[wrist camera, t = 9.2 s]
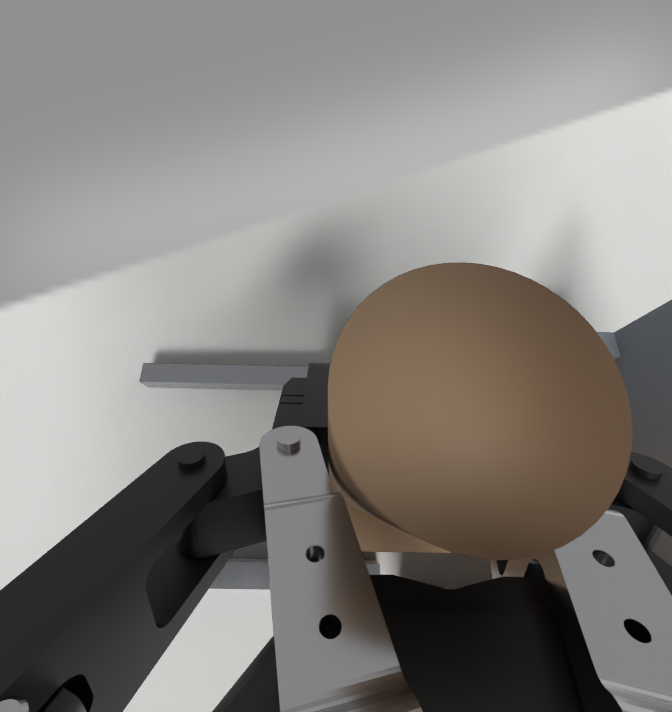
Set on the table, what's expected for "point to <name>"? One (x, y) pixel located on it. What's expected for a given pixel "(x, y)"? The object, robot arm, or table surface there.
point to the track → (231, 377)
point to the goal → (647, 390)
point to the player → (474, 416)
